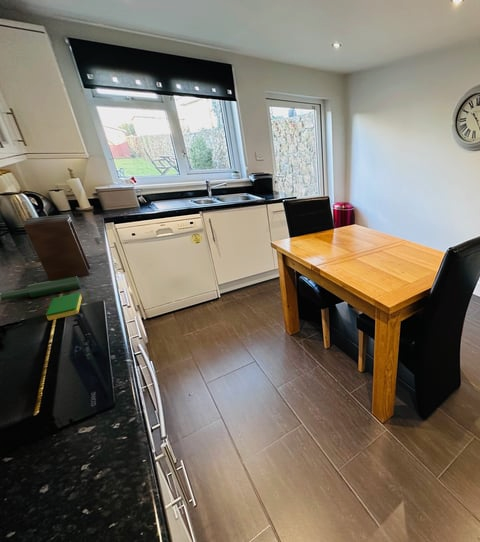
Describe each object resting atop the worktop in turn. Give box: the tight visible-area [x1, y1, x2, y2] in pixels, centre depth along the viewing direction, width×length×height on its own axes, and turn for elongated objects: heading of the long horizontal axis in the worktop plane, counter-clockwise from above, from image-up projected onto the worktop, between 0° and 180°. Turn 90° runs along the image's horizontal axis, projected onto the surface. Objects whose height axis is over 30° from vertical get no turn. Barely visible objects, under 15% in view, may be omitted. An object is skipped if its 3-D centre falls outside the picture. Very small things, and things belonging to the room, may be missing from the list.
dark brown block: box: [23, 214, 92, 281], centre depth 116 cm, size 12×10×25 cm
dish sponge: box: [45, 292, 83, 321], centre depth 96 cm, size 7×14×2 cm, turn 38°
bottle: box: [0, 276, 82, 303], centre depth 104 cm, size 21×5×5 cm
